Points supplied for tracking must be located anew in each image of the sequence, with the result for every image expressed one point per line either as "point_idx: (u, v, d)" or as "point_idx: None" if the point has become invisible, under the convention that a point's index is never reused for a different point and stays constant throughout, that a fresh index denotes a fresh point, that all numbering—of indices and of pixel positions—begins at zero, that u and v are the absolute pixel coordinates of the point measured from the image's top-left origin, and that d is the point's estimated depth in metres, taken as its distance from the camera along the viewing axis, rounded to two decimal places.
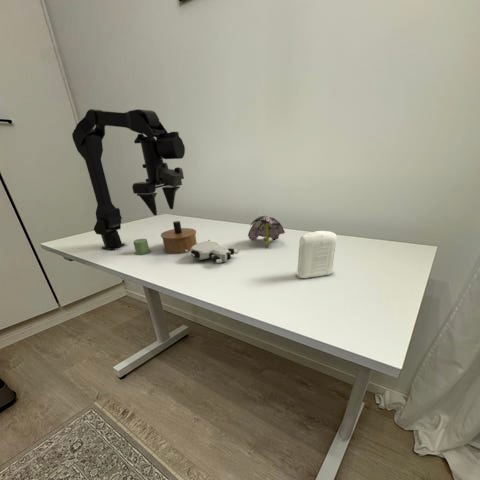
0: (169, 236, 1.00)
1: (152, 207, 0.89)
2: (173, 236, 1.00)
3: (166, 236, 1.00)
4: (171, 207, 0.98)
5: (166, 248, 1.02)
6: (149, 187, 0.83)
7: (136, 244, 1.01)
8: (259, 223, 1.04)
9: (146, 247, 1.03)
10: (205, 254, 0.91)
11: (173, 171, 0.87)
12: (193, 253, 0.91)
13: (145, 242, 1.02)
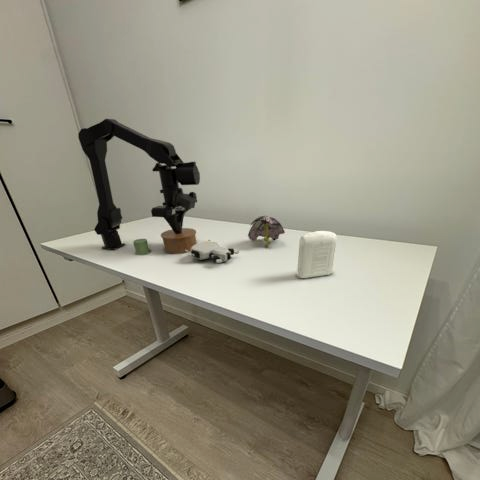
0: (169, 236, 1.00)
1: (173, 226, 1.00)
2: (173, 236, 1.00)
3: (166, 236, 1.00)
4: None
5: (166, 248, 1.02)
6: (167, 211, 0.91)
7: (136, 244, 1.01)
8: (259, 223, 1.04)
9: (146, 247, 1.03)
10: (205, 254, 0.91)
11: (188, 195, 0.95)
12: (193, 253, 0.91)
13: (145, 242, 1.02)
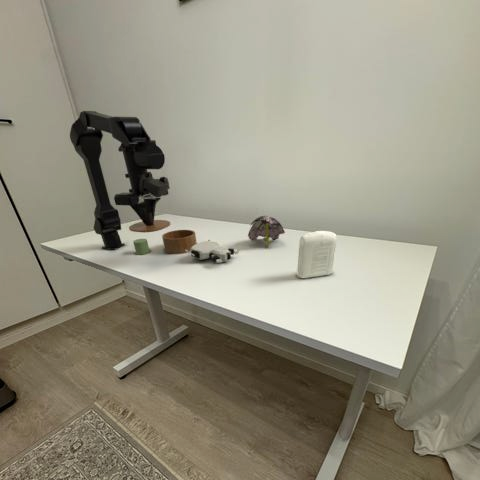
0: (138, 228, 0.87)
1: (143, 216, 0.86)
2: (143, 228, 0.86)
3: (135, 228, 0.87)
4: None
5: (166, 248, 1.02)
6: (132, 198, 0.78)
7: (136, 244, 1.01)
8: (259, 223, 1.04)
9: (146, 247, 1.03)
10: (205, 254, 0.91)
11: (158, 181, 0.82)
12: (193, 253, 0.91)
13: (145, 242, 1.02)
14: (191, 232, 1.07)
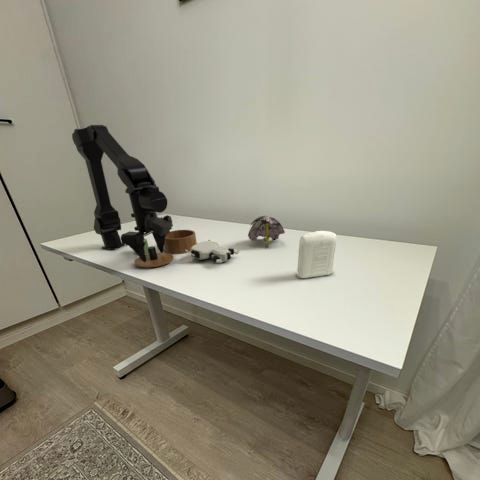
0: (143, 263, 0.92)
1: (141, 255, 0.89)
2: (147, 263, 0.91)
3: (140, 263, 0.92)
4: (161, 251, 0.97)
5: (166, 248, 1.02)
6: (137, 238, 0.82)
7: None
8: (259, 223, 1.04)
9: (146, 247, 1.03)
10: (205, 254, 0.91)
11: (162, 220, 0.87)
12: (193, 253, 0.91)
13: None
14: (191, 232, 1.07)
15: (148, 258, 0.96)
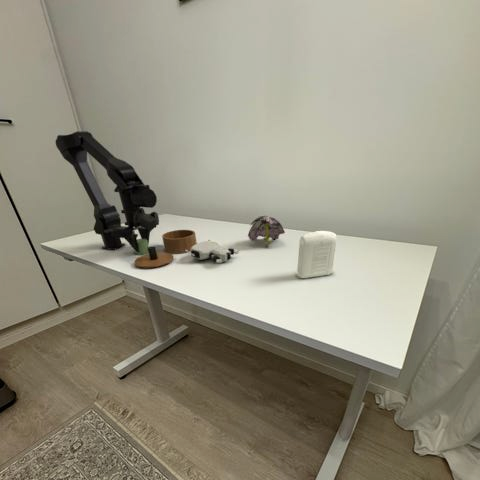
0: (143, 263, 0.92)
1: (134, 246, 1.00)
2: (147, 263, 0.91)
3: (140, 263, 0.92)
4: None
5: (166, 248, 1.02)
6: (126, 232, 0.92)
7: None
8: (259, 223, 1.04)
9: (146, 247, 1.03)
10: (205, 254, 0.91)
11: (149, 216, 0.96)
12: (193, 253, 0.91)
13: (145, 242, 1.02)
14: (191, 232, 1.07)
15: (148, 258, 0.96)
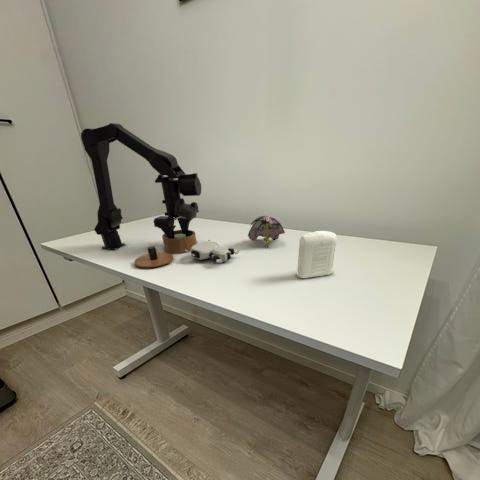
0: (143, 263, 0.92)
1: (171, 237, 0.99)
2: (147, 263, 0.91)
3: (140, 263, 0.92)
4: None
5: (166, 248, 1.02)
6: (169, 222, 0.93)
7: None
8: (259, 223, 1.04)
9: None
10: (205, 254, 0.91)
11: (189, 206, 0.97)
12: (193, 253, 0.91)
13: (184, 237, 1.03)
14: (191, 232, 1.07)
15: (148, 258, 0.96)
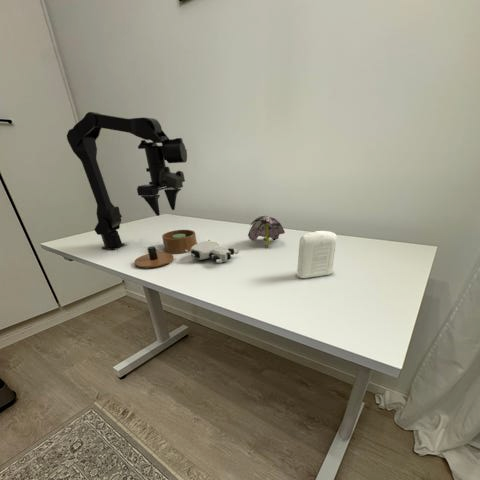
0: (143, 263, 0.92)
1: (155, 208, 0.95)
2: (147, 263, 0.91)
3: (140, 263, 0.92)
4: (173, 208, 1.04)
5: (166, 248, 1.02)
6: (153, 189, 0.89)
7: None
8: (259, 223, 1.04)
9: None
10: (205, 254, 0.91)
11: (175, 174, 0.93)
12: (193, 253, 0.91)
13: (184, 237, 1.03)
14: (191, 232, 1.07)
15: (148, 258, 0.96)
